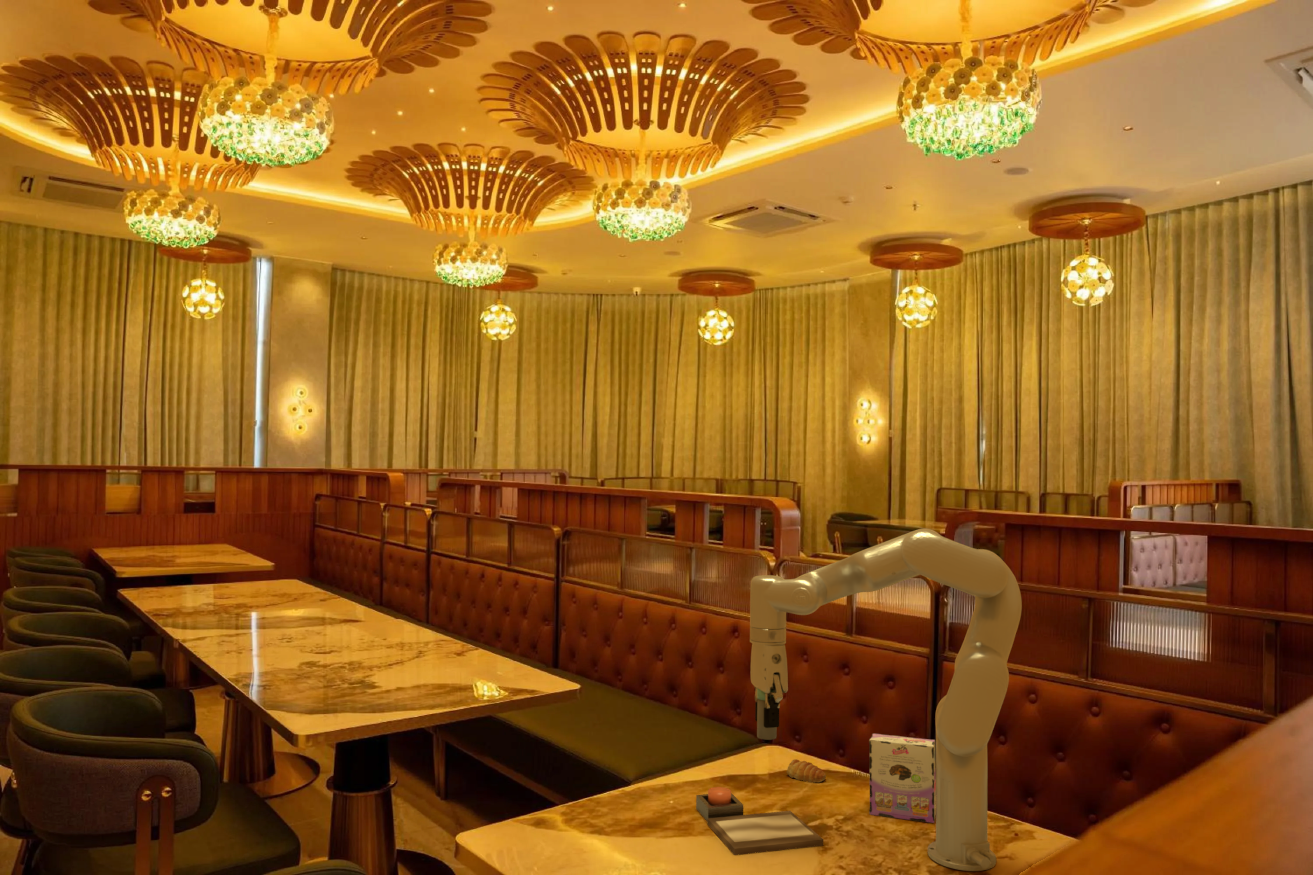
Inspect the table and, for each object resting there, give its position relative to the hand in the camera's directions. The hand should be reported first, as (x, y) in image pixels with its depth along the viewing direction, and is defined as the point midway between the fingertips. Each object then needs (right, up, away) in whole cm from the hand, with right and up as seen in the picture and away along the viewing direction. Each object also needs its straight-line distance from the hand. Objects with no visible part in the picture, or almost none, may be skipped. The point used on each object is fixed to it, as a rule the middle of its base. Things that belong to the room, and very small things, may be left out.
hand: (767, 723), depth 187 cm
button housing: (-9, -23, +9) cm, 26 cm away
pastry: (+14, -25, +34) cm, 44 cm away
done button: (-9, -20, +9) cm, 24 cm away
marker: (0, -3, 0) cm, 3 cm away
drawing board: (-1, -22, -2) cm, 22 cm away
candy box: (+31, -23, +10) cm, 40 cm away
